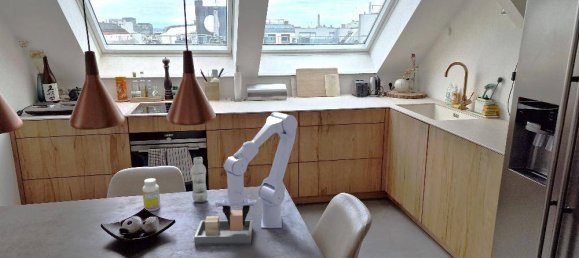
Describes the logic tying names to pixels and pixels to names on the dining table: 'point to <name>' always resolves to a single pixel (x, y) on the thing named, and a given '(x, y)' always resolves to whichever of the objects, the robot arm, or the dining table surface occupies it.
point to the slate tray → (224, 235)
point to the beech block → (212, 226)
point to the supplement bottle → (151, 195)
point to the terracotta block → (236, 220)
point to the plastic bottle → (199, 180)
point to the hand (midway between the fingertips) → (236, 224)
